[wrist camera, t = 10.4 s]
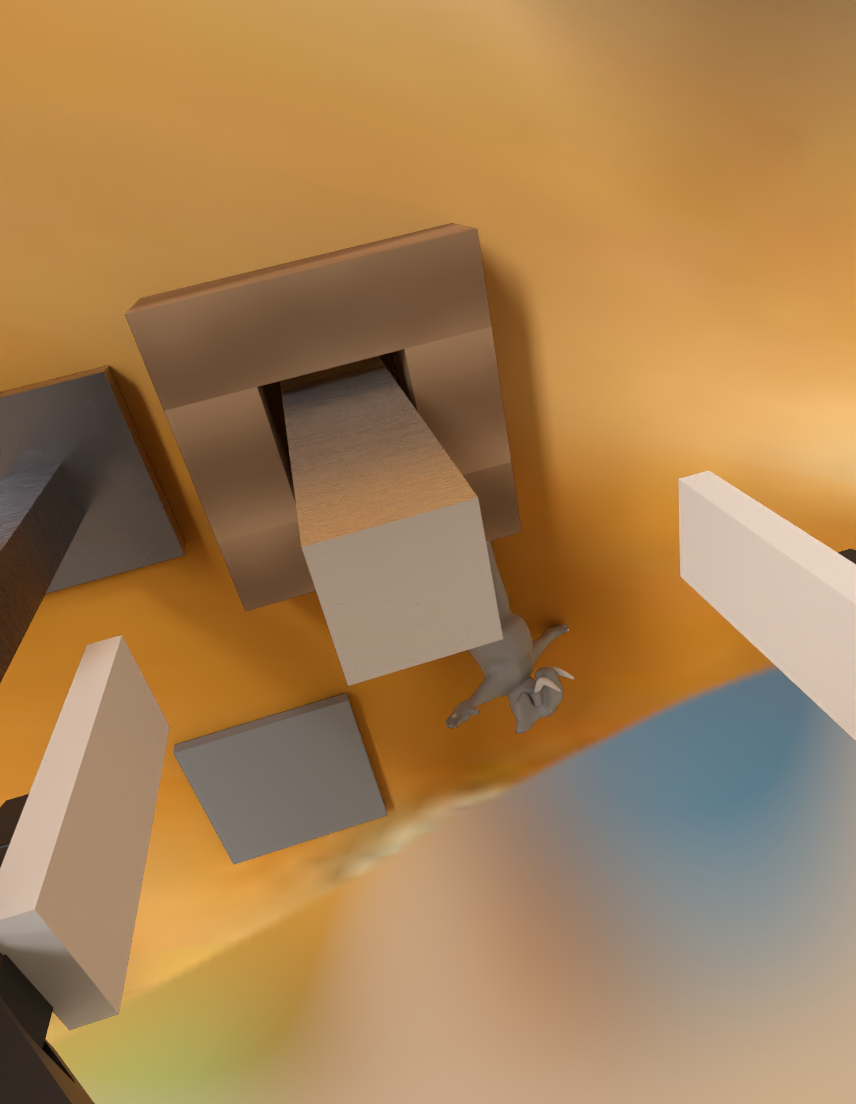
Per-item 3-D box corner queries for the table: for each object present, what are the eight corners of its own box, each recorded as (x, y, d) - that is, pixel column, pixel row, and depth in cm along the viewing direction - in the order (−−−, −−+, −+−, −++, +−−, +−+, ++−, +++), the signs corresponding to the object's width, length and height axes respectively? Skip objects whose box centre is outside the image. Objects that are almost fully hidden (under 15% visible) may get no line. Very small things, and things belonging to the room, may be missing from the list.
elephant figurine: (570, 499, 34) (625, 665, 35) (478, 519, 38) (531, 666, 39) (446, 579, 27) (521, 781, 28) (350, 593, 31) (420, 768, 33)
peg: (279, 376, 28) (301, 547, 15) (375, 351, 28) (478, 497, 15) (307, 467, 30) (348, 685, 17) (396, 442, 30) (503, 639, 17)
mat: (174, 745, 35) (173, 753, 35) (346, 692, 36) (348, 700, 35) (233, 855, 40) (233, 864, 39) (385, 806, 40) (387, 815, 40)
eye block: (139, 298, 25) (124, 314, 22) (452, 223, 27) (477, 228, 24) (246, 570, 31) (245, 611, 28) (496, 499, 33) (521, 532, 30)
